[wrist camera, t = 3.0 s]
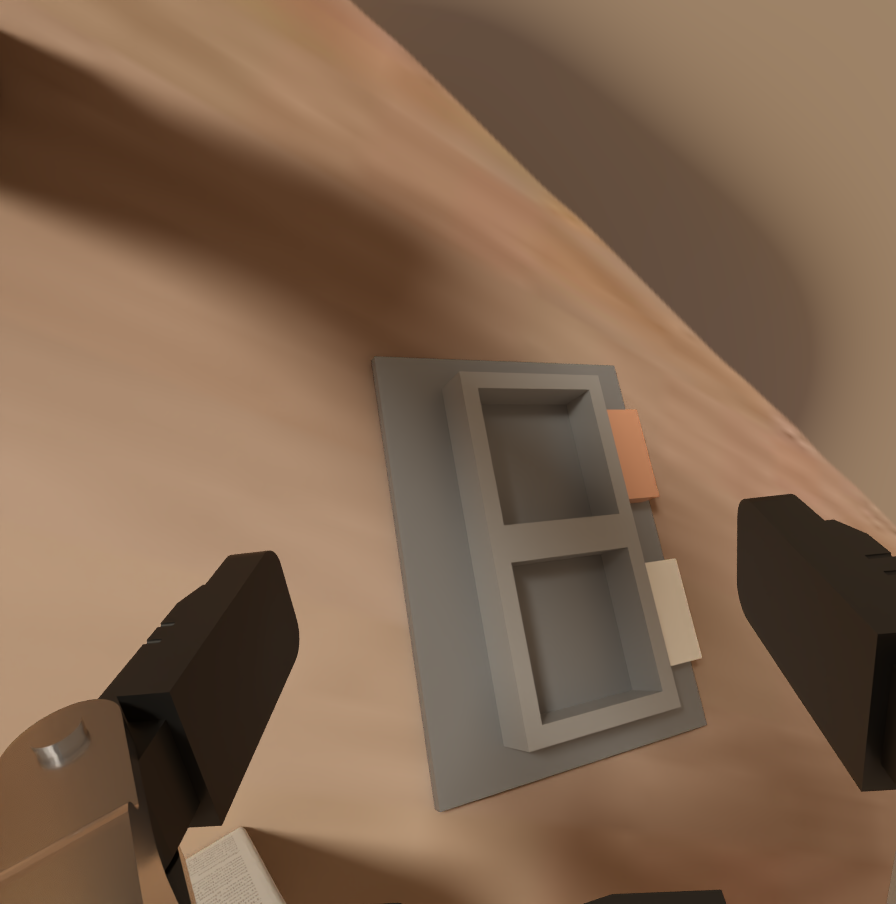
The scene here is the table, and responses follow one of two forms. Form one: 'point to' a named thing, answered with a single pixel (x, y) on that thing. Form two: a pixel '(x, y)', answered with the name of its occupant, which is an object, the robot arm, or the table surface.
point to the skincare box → (232, 873)
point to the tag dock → (531, 571)
